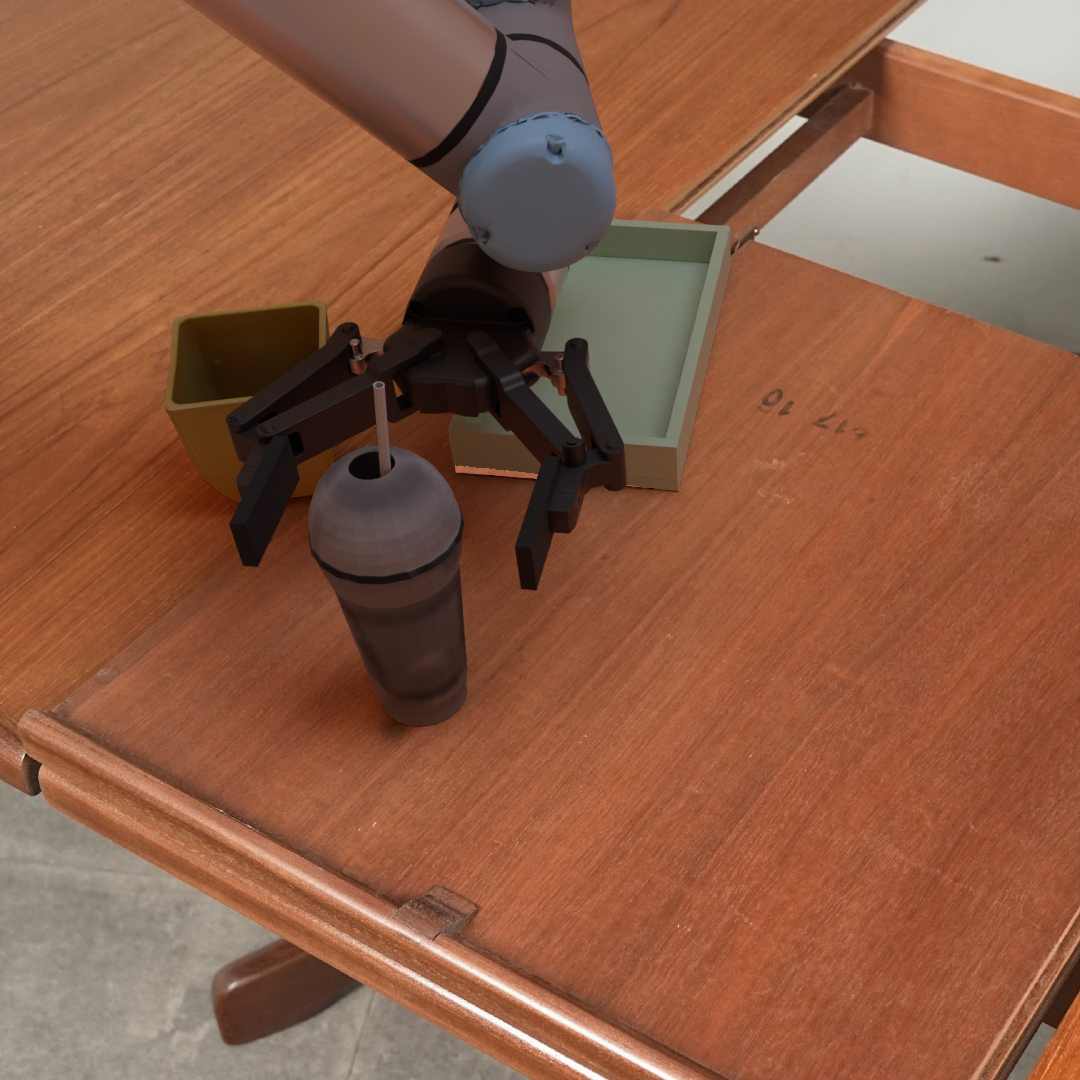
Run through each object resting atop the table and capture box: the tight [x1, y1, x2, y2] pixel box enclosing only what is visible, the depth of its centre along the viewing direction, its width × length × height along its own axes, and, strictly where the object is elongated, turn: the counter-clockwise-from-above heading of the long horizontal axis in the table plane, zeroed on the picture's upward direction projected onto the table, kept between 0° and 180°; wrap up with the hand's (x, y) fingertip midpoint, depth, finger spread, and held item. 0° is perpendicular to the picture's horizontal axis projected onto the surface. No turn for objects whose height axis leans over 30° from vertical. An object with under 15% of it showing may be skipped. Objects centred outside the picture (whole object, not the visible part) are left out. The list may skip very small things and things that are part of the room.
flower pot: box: [164, 300, 336, 504], centre depth 90 cm, size 9×9×9 cm
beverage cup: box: [308, 382, 468, 727], centre depth 74 cm, size 7×7×20 cm
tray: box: [447, 218, 732, 492], centre depth 99 cm, size 24×14×3 cm, turn 172°
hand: (383, 558), depth 72 cm, fingers open, 13 cm apart
